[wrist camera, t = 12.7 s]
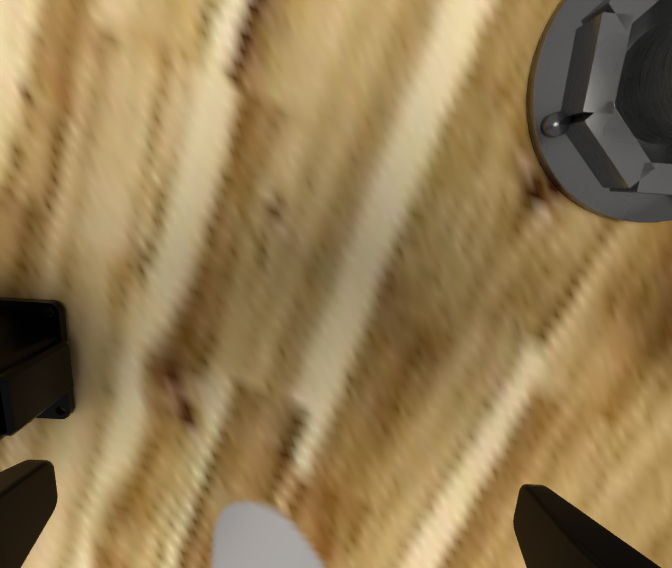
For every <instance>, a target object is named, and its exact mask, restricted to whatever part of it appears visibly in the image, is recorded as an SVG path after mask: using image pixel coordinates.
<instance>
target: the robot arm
mask: <svg viewBox="0 0 672 568" xmlns="http://www.w3.org/2000/svg"><path fill="white" fill-rule="evenodd" d="M49 308H51V309H52V310H53V312H54V314H51V313H50V312H49ZM61 407H63V408H64V409H65V411H64V410H62V409H61ZM74 408H75V407H74V397H73V378H72V369H71V360H70V351H69V345H68V343H67V334H66V325H65V316H64V309H63V307H62V305H61V304H60V303H58V302H57V301H52V300H35V299H17V298H0V440H1V439H3V438H4V437H5V436H12V435H14V434H15V433H16V432H18V431H19V430H20V429H22V428H23V427H24V426H25V425H27V424H28V423H29V422H30V421H32V420H33V419H34V418H49V419H65V418H67V417H68V416H69V415H71V414H72V413H73V411H74ZM57 497H58V496H57V487H56V480H55V472H54V466H53V464H52V463H51V462H50V461H47V460H26V461H23V462H21V463H19V464H17V465H15V466H12V467H10V468H8V469H6V470H4V471H2V472H0V568H21V566H22V564H23V563H24V561H25V559H26V558H27V556H28V554H29V552H30V551H31V549H32V547H33V546H34V544H35V542H36V541H37V539H38V537H39V535H40V534H41V532H42V530H43V529H44V527H45V525H46V523H47V522H48V520H49V518H50V517H51V515H52V513H53V511H54V509H55V507H56V504H57ZM513 524H514V530H515V534H516V537H517V540H518V543H519V546H520V549H521V552H522V555H523V558H524V561H525V564H526V567H527V568H661V567H659V566H658V565H657V564H655V563H654V562H652V561H651V560H649V559H648V558H647V557H645V556H644V555H642V554H641V553H640V552H638V551H637V550H635V549H634V548H632V547H631V546H630V545H628V544H627V543H625V542H624V541H623V540H621V539H620V538H618V537H617V536H615V535H614V534H613V533H611V532H610V531H608V530H607V529H606V528H604V527H603V526H601V525H600V524H598V523H597V522H596V521H594V520H593V519H591V518H590V517H589V516H587V515H586V514H584V513H583V512H582V511H580V510H579V509H577V508H576V507H574V506H573V505H572V504H570V503H569V502H567V501H566V500H565V499H563V498H562V497H560V496H559V495H557V494H556V493H555V492H553V491H552V490H550V489H549V488H547V487H546V486H544V485H533V484H525V485H522V486H521V488H520V490H519V495H518V499H517V504H516V509H515V514H514V519H513Z"/></svg>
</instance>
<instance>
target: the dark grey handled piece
mask: <svg viewBox="0 0 672 568" xmlns="http://www.w3.org/2000/svg"><path fill="white" fill-rule="evenodd" d="M670 18H672V0H562V1H561V2H560V3H559V5H558V7H557V8H556V10H555V11H554V13H553V15H552V16H551V18H550V19H549V21H548V23H547V25H546V27H545V29H544V32H543V34H542V36H541V38H540V40H539V43H538V46H537V49H536V51H535V54H534V57H533V61H532V65H531V70H530V74H529V79H528V89H527V119H528V126H529V133H530V137H531V140H532V144H533V148H534V150H535V153H536V155H537V157H538V160H539V162H540V164H541V166H542V168H543V169H544V171H545V172H546V174H547V176H548V177H549V179H550V180H551V181H552V182H553V183H554V185H555V186H556V187H557V188H558V189H559V190H560V191H561V192H562V193H563V194H564V195H565V196H566V197H568V198H569V199H570V200H571V201H573V202H574V203H576V204H577V205H579V206H581V207H582V208H584V209H586V210H588V211H591V212H593V213H595V214H597V215H601V216H605V217H608V218H612V219H619V220H626V221H635V222H660V221H668V220H672V144H651V143H646V142H644V141H641V140H639V139H637V138H636V137H634V135H633V134H632V132H631V131H630V129H629V128H628V126H627V125H626V123H625V122H624V120H623V119H622V117H621V115H620V114H619V112H618V111H617V109H616V108H615V100H616V95H617V90H618V86H619V81H620V77H621V72H622V67H623V63H624V58H625V55H626V53H627V51H628V50H629V49H630V47H631V46H632V45H633V44H634V42H635V41H636V40H637V39H638V38H639V37H640V36H642V35H643V34H644V33H645V32H646V31H648V30H649V29H651V28H652V27H654V26H656V25H658V24H660V23H662V22H664V21H666V20H668V19H670Z"/></svg>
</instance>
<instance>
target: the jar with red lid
mask: <svg viewBox="0 0 672 568" xmlns="http://www.w3.org/2000/svg"><path fill="white" fill-rule="evenodd" d="M615 108H616V109H617V111H618V112H619V114H620V115H621V117H622V119H623V120H624V122H625V123H626V125H627V126H628V128H629V129H630V131H631V132H632V134H633V135H634V137H636V138H637V139H639V140H641V141H644V142H646V143H651V144H672V18H670V19H668V20H666V21H664V22H662V23H660V24H658V25H656V26H654V27H652V28H651V29H649V30H648V31H646V32H645V33H644V34H643V35H642V36H640V37H639V38H638V39H637V40H636V41H635V42H634V44H633V45H632V46H631V47H630V49H629V50H628V51H627V53H626V55H625V58H624V63H623V67H622V72H621V77H620V81H619V86H618V90H617V95H616V100H615Z"/></svg>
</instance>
